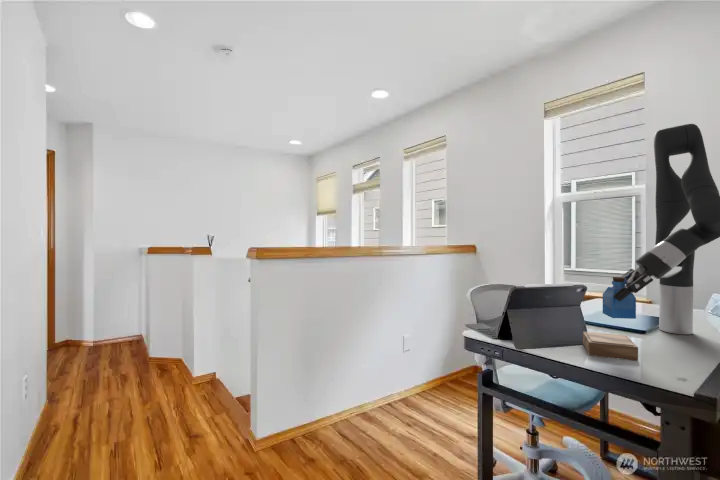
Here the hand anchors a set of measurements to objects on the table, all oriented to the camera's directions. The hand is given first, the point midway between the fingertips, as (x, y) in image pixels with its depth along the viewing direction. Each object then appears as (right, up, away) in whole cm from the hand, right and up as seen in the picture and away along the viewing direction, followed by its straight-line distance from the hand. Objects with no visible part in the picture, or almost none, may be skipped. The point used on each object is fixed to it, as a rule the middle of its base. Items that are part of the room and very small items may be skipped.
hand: (612, 296), depth 108 cm
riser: (-1, -17, +1) cm, 18 cm away
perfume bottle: (+2, -6, 0) cm, 6 cm away
